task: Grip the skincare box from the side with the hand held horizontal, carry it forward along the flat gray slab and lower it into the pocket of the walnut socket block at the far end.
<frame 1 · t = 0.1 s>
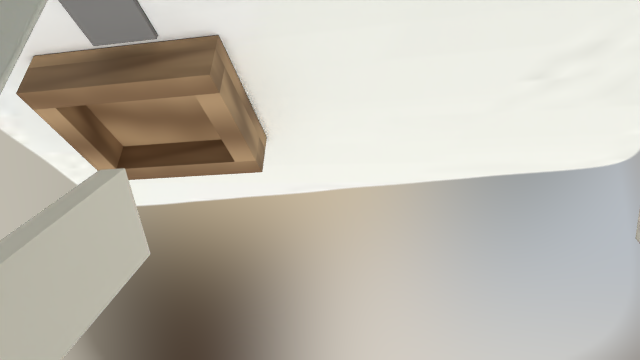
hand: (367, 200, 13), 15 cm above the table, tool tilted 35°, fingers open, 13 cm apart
flat gray slab: (102, 4, 27), on the table
socket block: (160, 100, 34), on the table
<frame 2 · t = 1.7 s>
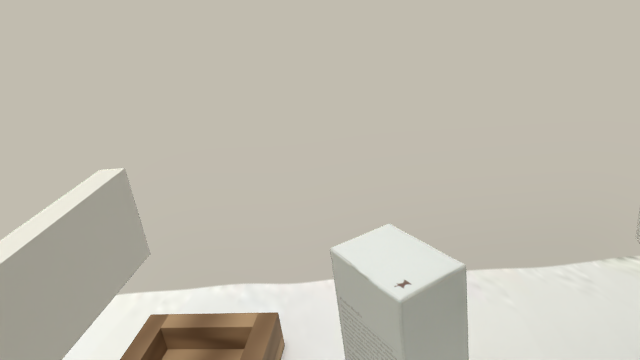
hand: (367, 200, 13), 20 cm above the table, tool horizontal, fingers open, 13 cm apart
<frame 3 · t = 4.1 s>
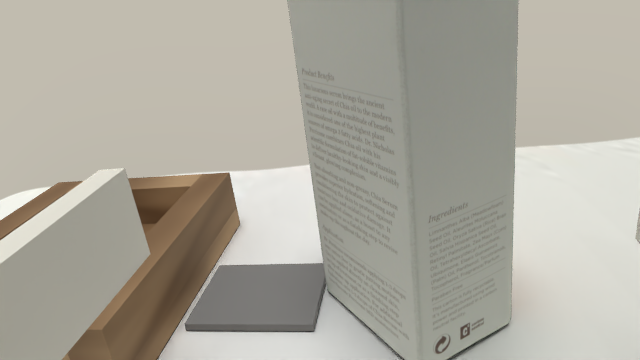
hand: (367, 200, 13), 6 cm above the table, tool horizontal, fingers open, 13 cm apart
skincare box: (411, 309, 19), on the table
flat gray slab: (262, 297, 20), on the table
socket block: (94, 292, 22), on the table
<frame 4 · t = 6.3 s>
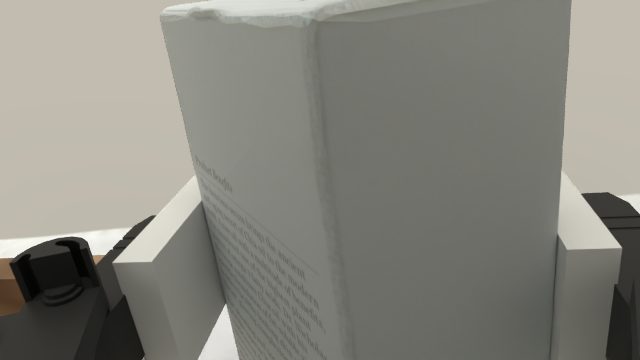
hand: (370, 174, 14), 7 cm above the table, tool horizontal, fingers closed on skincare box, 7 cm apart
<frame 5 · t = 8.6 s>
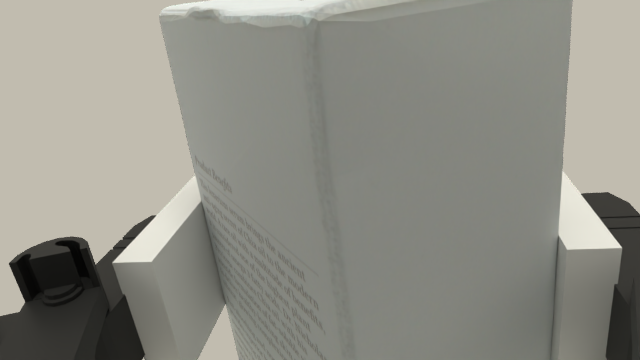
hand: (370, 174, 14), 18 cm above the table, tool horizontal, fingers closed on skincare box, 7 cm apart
when the fingers open (9 cm above the table, at t = 11.1 s): skincare box drops 1 cm, resting on socket block.
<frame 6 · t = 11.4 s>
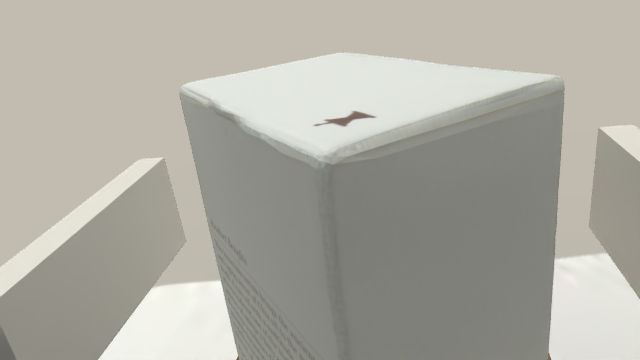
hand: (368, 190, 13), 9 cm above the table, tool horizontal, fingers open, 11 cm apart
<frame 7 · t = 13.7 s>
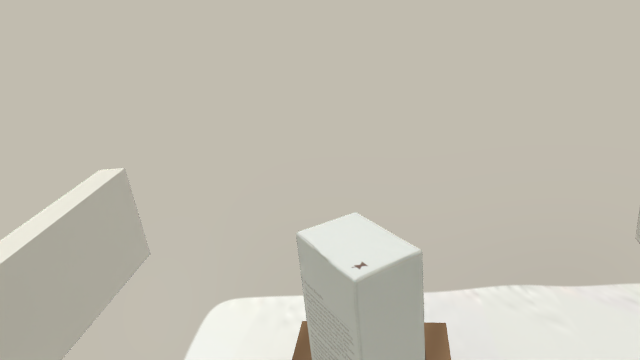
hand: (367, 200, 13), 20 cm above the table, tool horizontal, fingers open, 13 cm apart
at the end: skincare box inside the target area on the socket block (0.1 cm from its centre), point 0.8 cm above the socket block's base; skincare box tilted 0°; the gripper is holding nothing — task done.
